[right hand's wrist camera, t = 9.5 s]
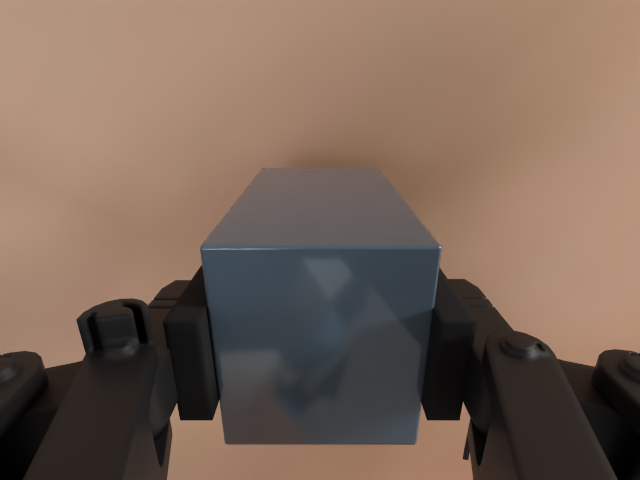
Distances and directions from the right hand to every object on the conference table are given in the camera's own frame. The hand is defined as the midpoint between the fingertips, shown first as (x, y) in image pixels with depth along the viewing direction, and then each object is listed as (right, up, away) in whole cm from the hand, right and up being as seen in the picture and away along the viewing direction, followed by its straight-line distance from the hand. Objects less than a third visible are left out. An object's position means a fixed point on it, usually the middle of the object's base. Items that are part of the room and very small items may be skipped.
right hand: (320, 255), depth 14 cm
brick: (0, +1, +3) cm, 3 cm away
